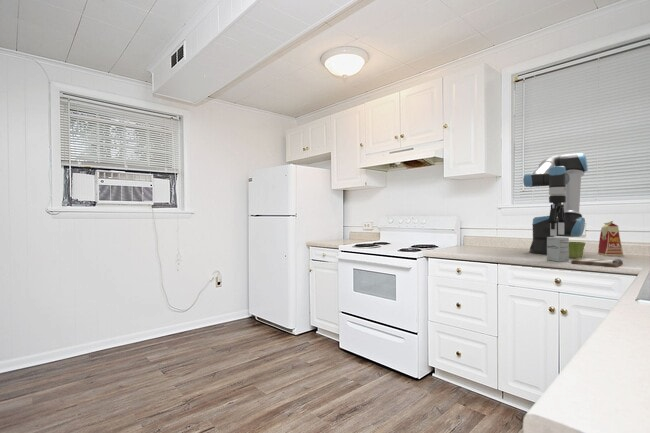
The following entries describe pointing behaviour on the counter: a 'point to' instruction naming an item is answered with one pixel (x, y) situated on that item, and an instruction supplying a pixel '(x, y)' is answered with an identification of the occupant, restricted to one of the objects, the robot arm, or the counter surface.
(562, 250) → the supplement box
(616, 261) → the brown square frame
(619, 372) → the counter surface
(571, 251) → the plant pot
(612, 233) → the milk carton
